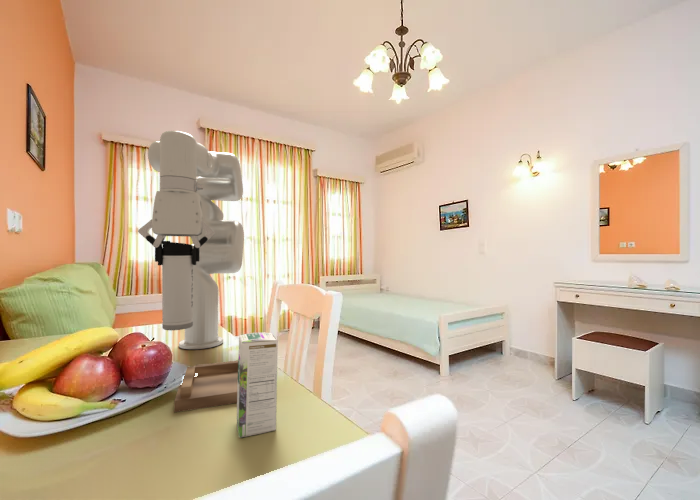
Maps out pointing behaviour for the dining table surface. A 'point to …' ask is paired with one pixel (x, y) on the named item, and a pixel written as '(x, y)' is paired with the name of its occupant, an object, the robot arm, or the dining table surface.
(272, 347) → the syrup box
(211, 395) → the stand
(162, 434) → the dining table surface
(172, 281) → the travel mug
